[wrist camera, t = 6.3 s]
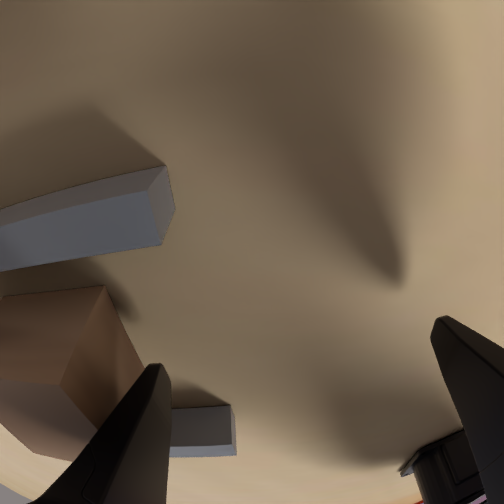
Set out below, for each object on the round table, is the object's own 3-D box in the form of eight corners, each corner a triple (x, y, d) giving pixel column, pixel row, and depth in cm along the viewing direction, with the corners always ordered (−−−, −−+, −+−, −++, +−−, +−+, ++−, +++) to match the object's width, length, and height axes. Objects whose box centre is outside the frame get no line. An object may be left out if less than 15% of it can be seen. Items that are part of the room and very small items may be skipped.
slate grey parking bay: (235, 418, 13) (236, 455, 11) (43, 413, 13) (34, 440, 11) (165, 165, 7) (146, 190, 6) (-69, 236, 7) (-97, 261, 6)
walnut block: (153, 383, 12) (140, 470, 8) (58, 382, 12) (33, 452, 8) (105, 285, 9) (59, 385, 6) (2, 297, 9) (-47, 370, 6)
